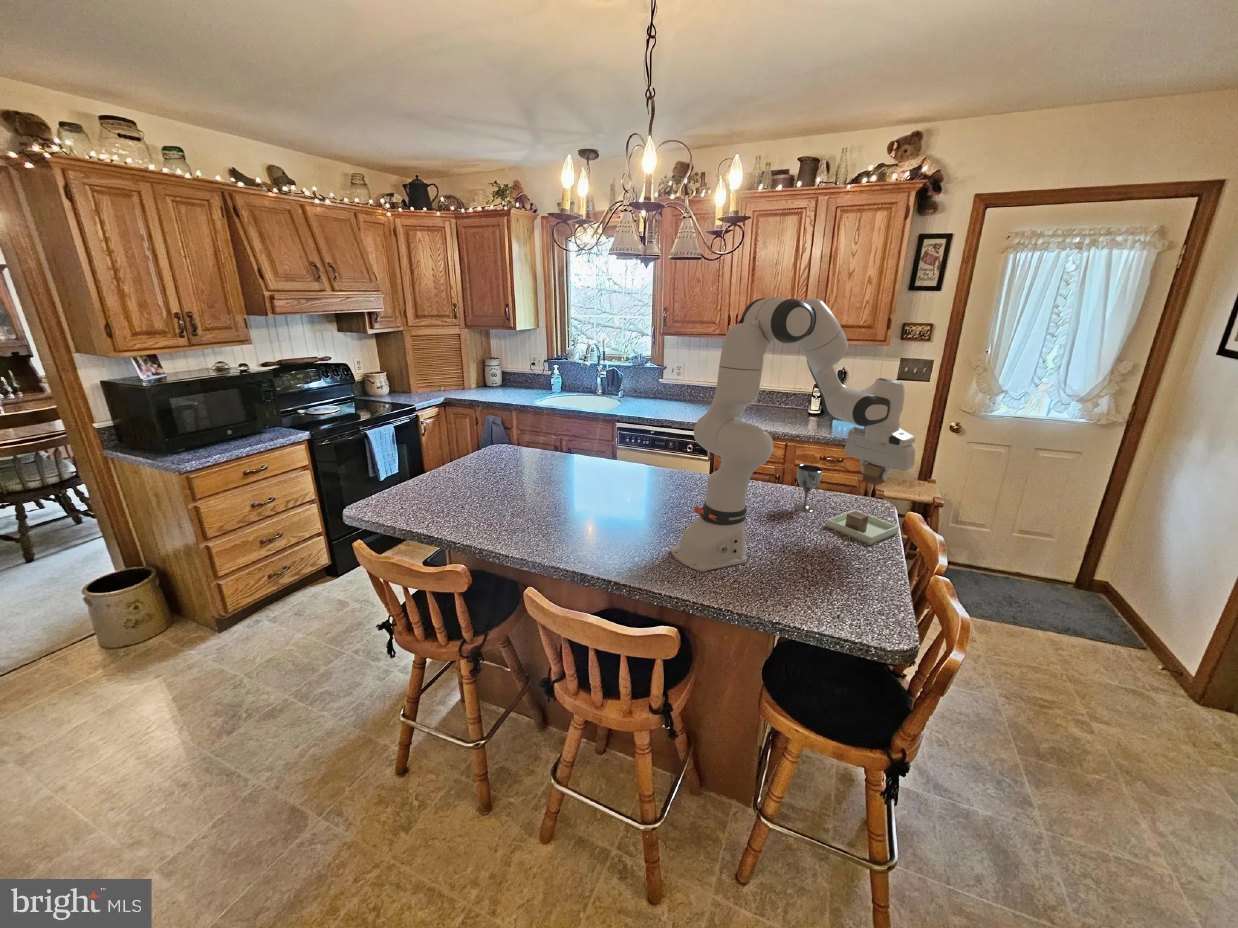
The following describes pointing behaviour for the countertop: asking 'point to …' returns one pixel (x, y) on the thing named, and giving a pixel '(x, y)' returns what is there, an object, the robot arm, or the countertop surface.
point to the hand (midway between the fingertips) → (874, 476)
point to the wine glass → (808, 483)
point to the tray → (874, 529)
